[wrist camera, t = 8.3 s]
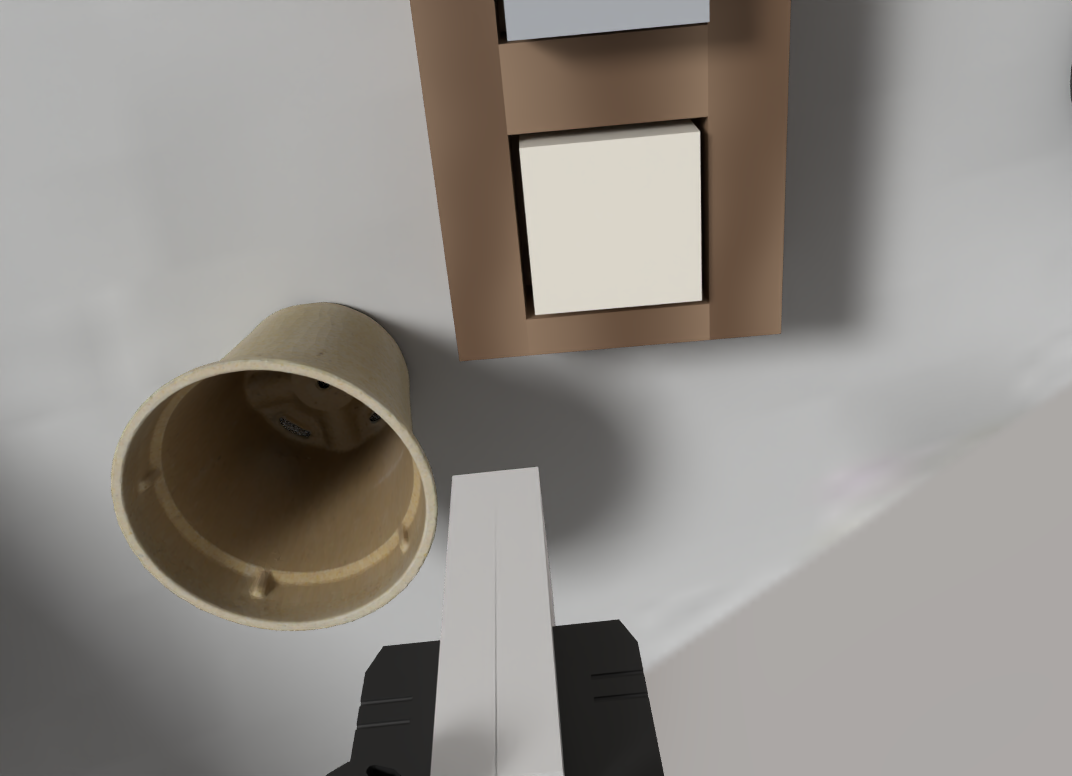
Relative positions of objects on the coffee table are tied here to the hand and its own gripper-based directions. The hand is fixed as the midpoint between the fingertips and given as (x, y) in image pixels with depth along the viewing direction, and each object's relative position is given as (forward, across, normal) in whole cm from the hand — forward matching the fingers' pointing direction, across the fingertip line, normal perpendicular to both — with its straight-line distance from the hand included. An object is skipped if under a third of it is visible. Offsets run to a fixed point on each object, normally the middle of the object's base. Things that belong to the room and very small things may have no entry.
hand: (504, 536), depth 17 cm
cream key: (+15, +4, +1) cm, 15 cm away
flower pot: (+18, -7, -5) cm, 20 cm away
